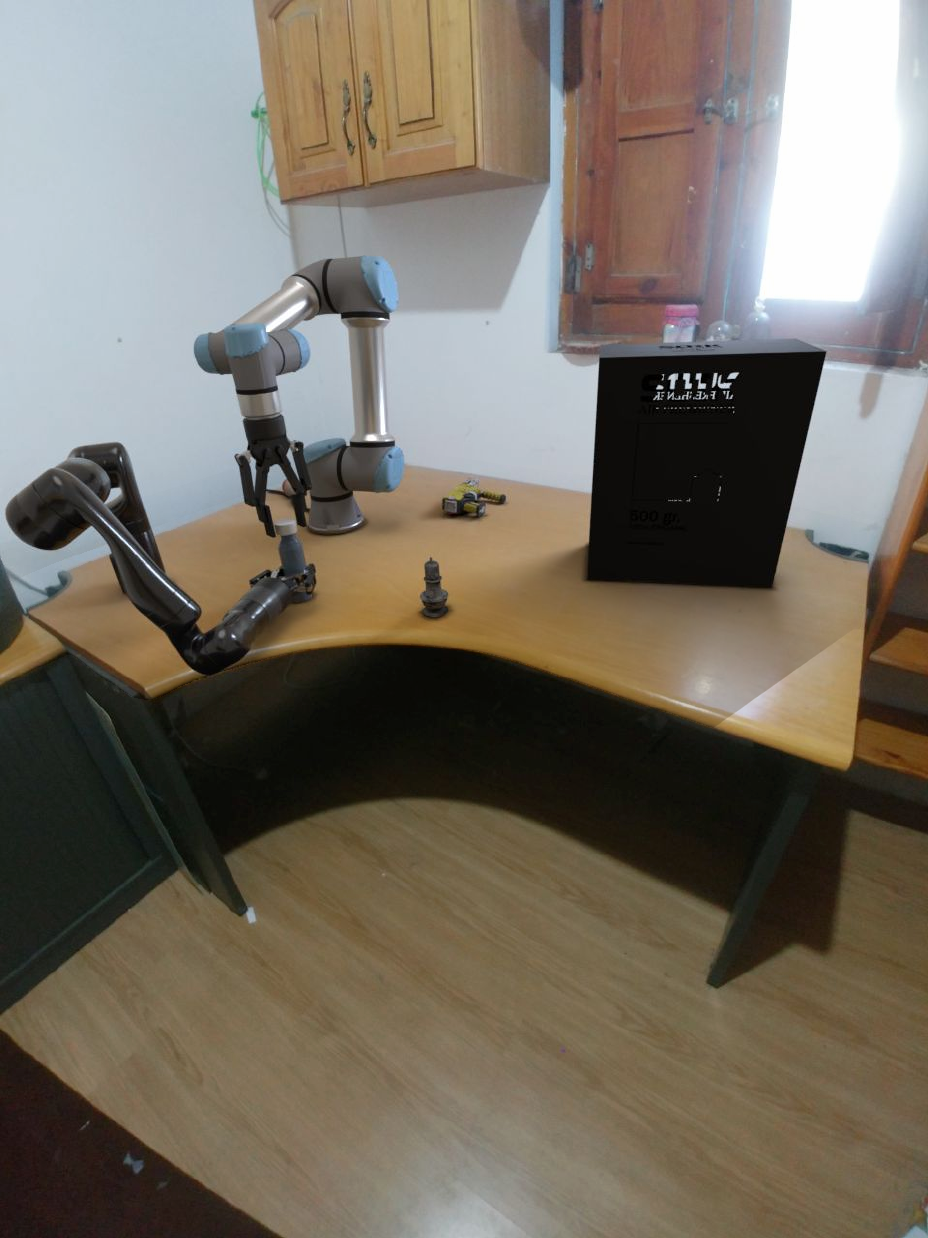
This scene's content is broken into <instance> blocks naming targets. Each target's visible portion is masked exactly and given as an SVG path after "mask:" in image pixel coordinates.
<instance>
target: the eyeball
mask: <svg viewBox="0 0 928 1238" xmlns="http://www.w3.org/2000/svg"><path fill="white" fill-rule="evenodd" d="M281 487H282V489H281V490H282V491H283V492H284V493H285V494H286V495H288V496H291V495H293V494H295V495H296V493H295V492H294V491H293V489H292V487H291V485H290V483H289V482H288V480H287V478H286V479H284V480H283V482H282V485H281ZM286 495H285V496H286ZM288 496H287V497H288Z"/></svg>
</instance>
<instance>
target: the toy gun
mask: <svg viewBox="0 0 928 1238" xmlns="http://www.w3.org/2000/svg"><path fill="white" fill-rule="evenodd" d="M477 485H479V479H478V478H474V479H473V477H469V478H467V480H466V481H464V482H462V483H460V484H459V485H458V486H456V488H454V489H453V490H451V491H450V492H449V493H448V494H446V495H445V496H444V497H443V498H442V499H441V510H442V511H443V512H444V513H446V514H448V515H453V514H457V515H458V514H462V513H471V514H475V515H476V518H480V517H482V516H483V515H485V514H486V504H487V503H486V502H484V501H482V502H480V501H479V500H480V499H481V498H483V499H485V500H486V499H487V500H491V501H494V502H498V503H501V504H503V503H505V502H506V500H507V495H505V494H504V493H498V492H497V493H496V492H492V491H488V490H483V491H482V492H481V490H480V488H479V486H477Z"/></svg>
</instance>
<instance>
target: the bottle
mask: <svg viewBox="0 0 928 1238" xmlns="http://www.w3.org/2000/svg"><path fill="white" fill-rule="evenodd" d="M279 536H280V538H279V542H278V543H277V550H278V555H279V560H280V563H281V564H280V565H281V566H282V569H283V573H284V577H288V576H289V575H291V574H293V573H295V572H296V573H300V572H301V571H303V570H304V569H305V568H306V567H307V566H308V564H307V562H306V557H305V551H304V546H303V542H302V541H301V540H300V539H299V537H298V536H297V535H296V533H294V534H291V535H285V536H282V535H279ZM302 580H304V577H303V576H302ZM312 598H313V593H312V594H311V595H307V594H306V592H299V593H298V594H297V595H295V596H293V597H292V600H291V602H292V603H304V602H306V601H309V600H310V599H312Z"/></svg>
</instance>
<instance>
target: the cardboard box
mask: <svg viewBox="0 0 928 1238" xmlns="http://www.w3.org/2000/svg"><path fill="white" fill-rule="evenodd" d="M827 352H828V351H827V350H824V349H822V348H820V347H818V346H815V345H813V344H811V343H808V342H806V341H802V340H801V339H799V338H768V339H766V338H765V339H737V340H736V339H735V340H709V341H708V340H707V341H705V340H703V341H675V342H672V341H671V342H648V343H647V342H646V343H645V342H644V343H643V342H642V343H616V344H615V343H614V344H612V343H611V344H600V348H599V355H598V356H599V358H598V370H597V371H598V372H597V390H596V391H597V392H596V409H595V410H596V411H595V426H594V445H593V459H592V460H593V461H592V462H593V463H592V479H591V497H590V515H589V532H588V533H589V535H588V547H587V548H588V549H587V568H586V580H588V581H611V582H635V583H655V584H657V583H658V584H675V585H676V584H679V585H698V586H699V585H703V586H725V587H743V588H744V587H745V588H746V587H747V588H768V589H773V586H774V582H775V578H776V573H777V569H778V565H779V560H780V555H781V550H782V548H783V543H784V540H785V539H784V538H785V534H786V530H787V525H788V521H789V517H790V513H791V512H790V511H791V509H792V504H793V499H794V496H795V490H796V486H797V483H798V477H799V474H800V469H801V465H802V461H803V456H804V451H805V447H806V444H807V443H806V442H807V439H808V434H809V429H810V425H811V421H812V416H813V412H814V408H815V404H816V400H817V395H818V391H819V387H820V382H821V378H822V373H823V368H824V365H825V360H826V356H827ZM685 374H689V378H688V385H690V388H686V384H687V379H685V378H684V375H685ZM699 374H700V379H699V378H697V375H699ZM715 374H716V380H715V384H714V386H713V383H714V378H715ZM731 374H736V376H735V378H729V377H730V376H731ZM672 375H677V378H676V379H675V380H674V384H673V385H674V387H673V388H671V385H672V379H671V378H670V377H671V376H672ZM719 379H720V381H719ZM700 384H701V385H705V387H704V388H699V385H700ZM719 384H720V385H724V384H729V387H720V386H719ZM659 386H661V387H662V388H658V387H659Z"/></svg>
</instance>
